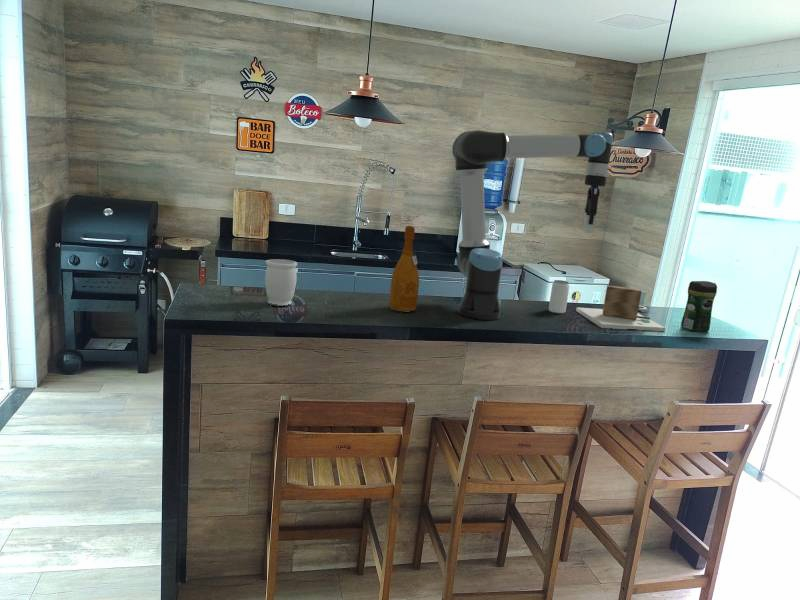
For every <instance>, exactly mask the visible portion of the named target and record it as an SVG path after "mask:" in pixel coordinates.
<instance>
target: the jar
mask: <svg viewBox="0 0 800 600" xmlns="http://www.w3.org/2000/svg"><path fill="white" fill-rule="evenodd" d="M265 265H266V269H265V274H264V284H265V291H266V296H267V298H268V300H267V302H269V303H272V304H277V305H288V304H291V303H292V304H293V302H292V299H294V298H293V297H294V295H295V290H296V287H297V280H298V279H297V278H298V277H297V275H298V273H297V268H296V267H297V266H298V262H297V261H294V260H291V259H283V258H281V259H279V258H278V259H277V258H276V259H275V258H274V259H272V258H271V259H267V260H265Z"/></svg>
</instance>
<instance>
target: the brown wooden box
mask: <svg viewBox="0 0 800 600" xmlns="http://www.w3.org/2000/svg"><path fill="white" fill-rule="evenodd" d="M642 291H643V290H642V289H639V288H630V287H624V286H616V285H610V284H609V285H608V284H607V285H606V289H605V296H604V302H603V307H602V309H603V315H607V316H614V317H621V318H628V319H635V320H636V319H637V318H642V319H649V320H651V317H647V316H644V317H642V316H643V315H642V316H637V314H638V313H639V312H638V308H639V303H640V297H641V292H642Z"/></svg>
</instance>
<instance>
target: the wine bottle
mask: <svg viewBox="0 0 800 600" xmlns="http://www.w3.org/2000/svg"><path fill="white" fill-rule="evenodd" d="M403 238H404V240H405V241H404V245H403V249H402V253H401V256H400V257H399V260H398V261H397V263H396V265H395V266H394V270H393V273H392V275H391V281H390V289H389V290H390V292H389V309H391V308H392V309H394V310H399V311H413V312H415V311H416V309H417V304H418V297H419V296H418V295H419V288H420V287H419V285H420V277H419V271H418V267H417V265H418V263H419V262H418V259H417V255H414V254H415V253H414V251H413V241H414V240H415V227H414V226H412V225H408V226H405V229H404V237H403ZM392 309H391V310H392ZM394 310H393V311H394ZM414 310H415V311H414Z"/></svg>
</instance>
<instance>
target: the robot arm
mask: <svg viewBox="0 0 800 600" xmlns="http://www.w3.org/2000/svg"><path fill="white" fill-rule="evenodd" d="M613 137H614V136H613V134H612V133H611V132H603V131H594V132H592V133H590V134H584V133H583V134H571V133H570V134H533V135H532V134H530V135H529V134H528V135H526V134H525V135H523V134H522V135H519V134H518V135H516V134H515V135H507V134H506V133H505V132H492V131H486V130H479V129H478V130H477V129H476V130H468V131H464V132H462V133H460V134H459V135H458V136H457V137H455V139H454V141H453V144H452V151H451V152H452V154H453V155H452V156H453V158H454V160H455V171H456V172H457V173H458V174H459V176H460V177H459V178H460V180H459V181H460V184H459V185H460V205H461V207H460V208H461V233H462V237H461V238H462V239H461V241H460V242H459V243H458V254H457V256H456V265H457V268H458V270H459V271H460V273H461V274H462V275H463V276H464V277H466V284H465V292H464V294H463V296H462V298H461V301H460V303H459V306H458V312H459V313H460V314H459V313H458V314H459V315H461V314H462V315H461V316H463V315H464V316H463V317H465V316H467V317H466V318H469V317H471V319H474V318H476V319H475V320H483V321H486V320H487V321H492V320H493V321H495V320H498V319H500V318H501V314H502V312H501V311H502V310H501V306H500V301H499V289H500V283H501V282H500V281H501V274H502V267H503V256H502V254H501V253H500V252H499V251H497V250H493V249H491V248H490V247H491V246H490V245H491V243H490V242H489V241H488V239H487V238H486V211H485V209H486V206H485V175H484V174H485V173H486V171H487V170H488V169H489V168H488V167H489V166H488V163H489V164H490V163H496V162H497V163H498V162H505V161H506V159H530V158H531V159H533V158H534V159H535V158H537V159H539V158H540V159H541V158H542V159H543V158H574V157H575V158H579V157H580V158H587V165H586V169H585V172H586V175H585V178H584V179H585V180H584V185H585V186H590V187H589V188H588V190H587V197H586V204H585V208H584V217H583V223H582V230H584V233H585V234H590V235H591V234H594V226H595V222H596V215H597V213H598V212H597V211H598V203H599V202H598V201H599V197H600V188H599V187H605V186H606V183H607V176H606V175H608V170H610V168H611V167H610V166H609V163H610V158H611V152H612V147H613V139H614V138H613Z"/></svg>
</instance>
